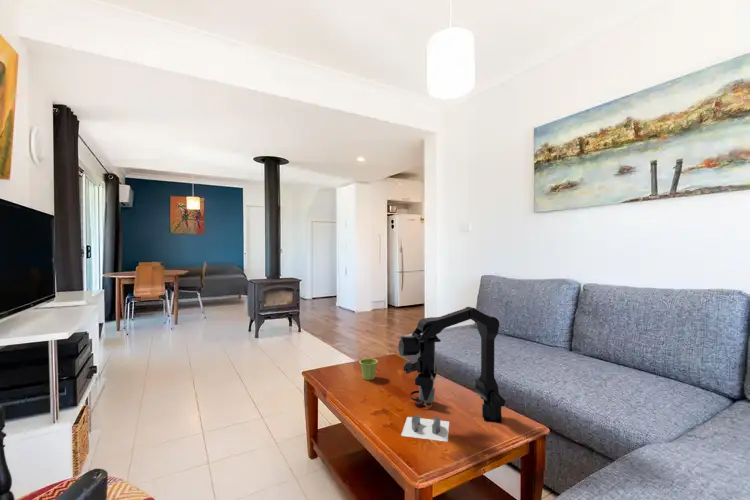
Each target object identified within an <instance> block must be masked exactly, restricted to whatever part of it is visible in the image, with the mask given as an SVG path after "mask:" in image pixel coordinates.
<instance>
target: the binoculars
mask: <svg viewBox="0 0 750 500" xmlns="http://www.w3.org/2000/svg"><path fill="white" fill-rule="evenodd" d="M414 394H419V390H413V391H411V392H410V393H409V396H410V400H412V401H414V402H415V403H414V407H416V408H419V407H425V408H427V409H431V408H433V404H432V403H433V401H432V402H425V401H422V400H420V399H419V396H416V397H415V398H414V397H413V396H412V395H414Z"/></svg>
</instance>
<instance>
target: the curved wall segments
mask: <svg viewBox="0 0 750 500" xmlns="http://www.w3.org/2000/svg"><path fill="white" fill-rule="evenodd" d="M411 417H412V430H413V431H414V432H418V425H419V424H420V418H421V415H419V414H415V415H413V416H411ZM433 420H434V424H432V433H433V434H435V435H436V434H438V433H439V432H440V421H441V419H440V418H439V417H438V416H433Z"/></svg>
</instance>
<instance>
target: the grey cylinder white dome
mask: <svg viewBox="0 0 750 500" xmlns="http://www.w3.org/2000/svg"><path fill="white" fill-rule="evenodd" d="M418 391H419V393H418V397H419V399H420V400H422V401H425V402H432V403H433V402H435V395H436V394H435V391H436V389H435V387H434V386H433V388H432V390H431V393H430V395H429V397H428V400H427V401H426V400H424V397H423V393H422V389H421V386H419V387H418Z"/></svg>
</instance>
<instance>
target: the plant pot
mask: <svg viewBox="0 0 750 500" xmlns="http://www.w3.org/2000/svg"><path fill="white" fill-rule="evenodd" d="M378 361H379V360H378V359H376V358H363V359H361V360H359V364H360V367H361V374H362V379H363V380H367V381H373V380H374V379H375V378H376V369H377V365H378Z"/></svg>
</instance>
